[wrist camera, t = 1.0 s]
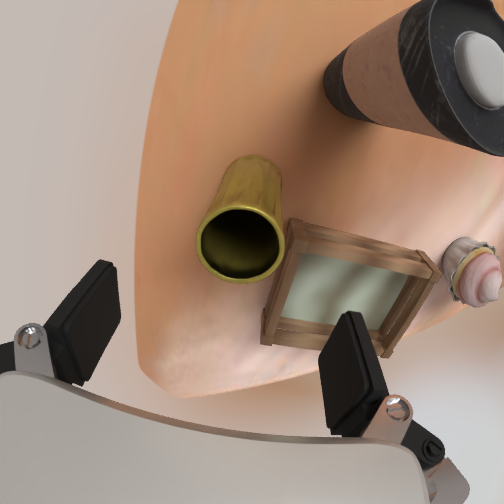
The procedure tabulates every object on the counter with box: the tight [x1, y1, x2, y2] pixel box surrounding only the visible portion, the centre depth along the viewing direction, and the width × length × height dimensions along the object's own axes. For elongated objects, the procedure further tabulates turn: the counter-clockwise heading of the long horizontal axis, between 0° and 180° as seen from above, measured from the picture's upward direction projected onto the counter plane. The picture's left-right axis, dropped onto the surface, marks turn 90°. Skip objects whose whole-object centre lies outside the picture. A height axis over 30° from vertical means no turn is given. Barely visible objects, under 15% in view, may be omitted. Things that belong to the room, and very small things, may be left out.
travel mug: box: [324, 0, 504, 157], centre depth 14 cm, size 8×8×20 cm
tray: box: [260, 218, 442, 358], centre depth 32 cm, size 18×14×5 cm
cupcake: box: [442, 237, 502, 307], centre depth 27 cm, size 9×9×10 cm
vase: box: [196, 155, 285, 284], centre depth 22 cm, size 6×6×14 cm
